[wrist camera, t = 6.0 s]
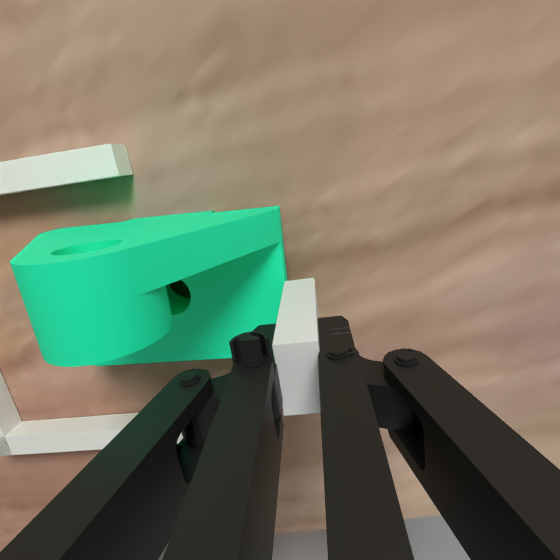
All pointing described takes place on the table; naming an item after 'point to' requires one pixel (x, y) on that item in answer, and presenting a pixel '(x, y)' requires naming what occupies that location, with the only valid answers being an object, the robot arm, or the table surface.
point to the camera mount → (152, 286)
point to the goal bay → (3, 414)
